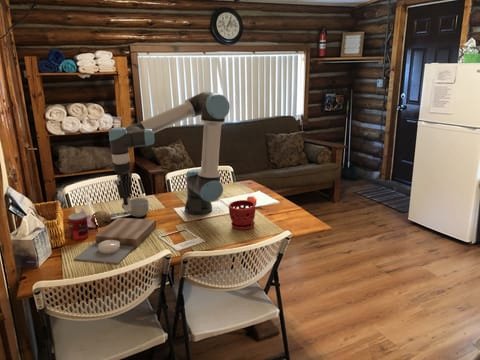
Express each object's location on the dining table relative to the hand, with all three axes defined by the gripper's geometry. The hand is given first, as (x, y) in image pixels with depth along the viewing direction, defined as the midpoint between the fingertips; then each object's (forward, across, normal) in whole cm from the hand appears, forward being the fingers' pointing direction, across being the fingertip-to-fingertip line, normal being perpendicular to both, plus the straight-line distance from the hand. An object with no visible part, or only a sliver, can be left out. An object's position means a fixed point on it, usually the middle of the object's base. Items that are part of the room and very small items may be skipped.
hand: (128, 210), depth 184 cm
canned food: (+12, +7, -22) cm, 26 cm away
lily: (+12, -2, -26) cm, 28 cm away
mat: (+12, +21, -3) cm, 24 cm away
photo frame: (+14, +2, +26) cm, 29 cm away
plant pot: (+15, -17, +51) cm, 56 cm away
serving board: (+12, +2, -1) cm, 12 cm away
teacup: (+13, -24, -8) cm, 28 cm away
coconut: (+12, -11, -22) cm, 27 cm away
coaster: (+11, +18, -2) cm, 21 cm away
